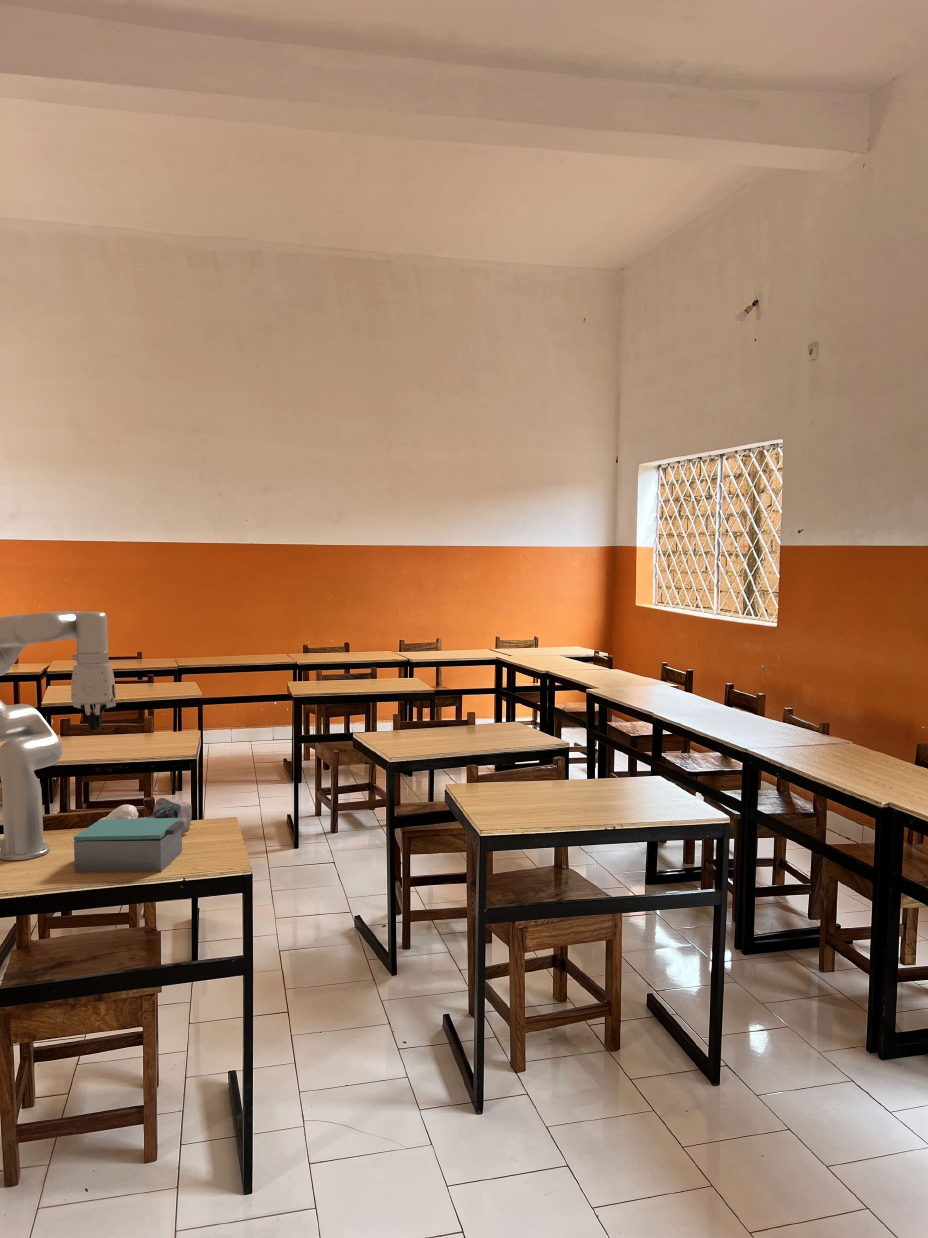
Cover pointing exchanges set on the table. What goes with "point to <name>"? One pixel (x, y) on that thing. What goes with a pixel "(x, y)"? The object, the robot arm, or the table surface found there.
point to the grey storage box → (127, 854)
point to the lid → (130, 829)
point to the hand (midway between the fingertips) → (95, 729)
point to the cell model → (172, 811)
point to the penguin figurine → (123, 813)
